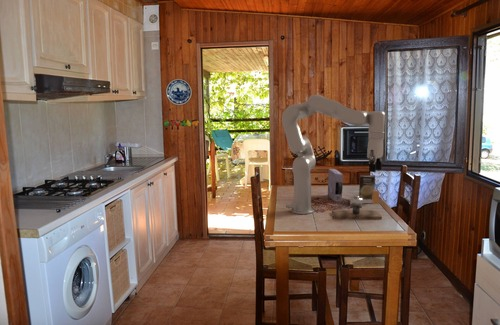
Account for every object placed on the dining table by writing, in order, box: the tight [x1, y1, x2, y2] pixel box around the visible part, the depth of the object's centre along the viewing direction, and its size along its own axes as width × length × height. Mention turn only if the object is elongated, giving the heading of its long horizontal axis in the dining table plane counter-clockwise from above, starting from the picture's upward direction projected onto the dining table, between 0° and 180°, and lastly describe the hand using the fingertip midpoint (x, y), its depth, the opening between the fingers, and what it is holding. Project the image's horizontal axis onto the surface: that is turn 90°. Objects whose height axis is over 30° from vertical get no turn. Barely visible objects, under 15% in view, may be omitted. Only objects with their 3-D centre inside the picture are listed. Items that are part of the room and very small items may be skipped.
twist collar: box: [349, 189, 380, 207], centre depth 216 cm, size 15×6×8 cm, turn 86°
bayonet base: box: [331, 205, 383, 220], centre depth 217 cm, size 24×12×6 cm, turn 86°
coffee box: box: [358, 174, 376, 200], centre depth 246 cm, size 9×6×16 cm
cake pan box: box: [327, 168, 344, 203], centre depth 255 cm, size 19×5×18 cm, turn 3°
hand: (375, 170), depth 208 cm, fingers open, 6 cm apart
